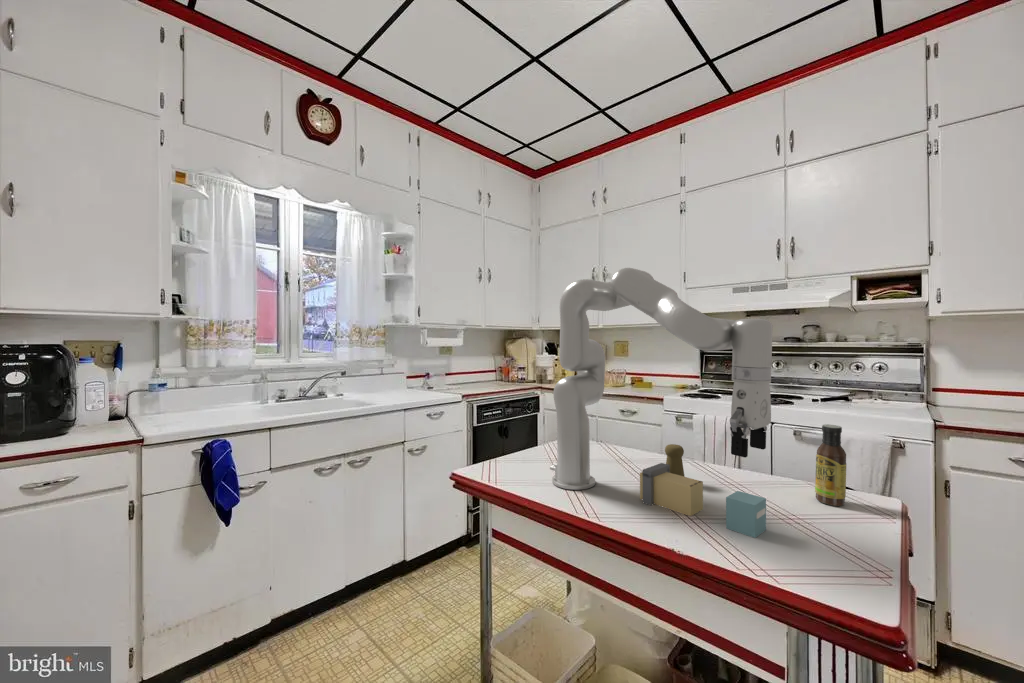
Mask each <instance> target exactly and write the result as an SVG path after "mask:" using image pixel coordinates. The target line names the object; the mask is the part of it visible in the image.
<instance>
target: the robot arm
mask: <svg viewBox="0 0 1024 683" xmlns="http://www.w3.org/2000/svg"><path fill="white" fill-rule="evenodd" d="M628 306H633V307H634V308H636V309H637V310H639V311H641V312H642V313H644V314H645V315H647V316H648V317H650V318H652V319H653V320H655V321H656V323H658V325H660V326H661V327H663V329H665V330H666V331H668V333H670V334H671V335H672V336H675V337H677V338H678V339H680V341H681V340H682V341H683V342H685V343H686V344H688V345H689V346H691V347H693V348H695V349H697V350H699V351H702V352H703V351H704V352H711V351H713V352H714V351H724V350H725V351H726V350H732V360H731V361H732V362H731V381H733V388H732V396H731V397H732V398H731V408H730V409H731V410H730V418H729V425H730V427H729V429H730V437H731V440H730V443H731V444H730V454H731V455H732V456H737V457H740V458H747V457H748V454H749V453H748V452H749V447H750V448H755V449H758V450H759V449H760V450H762V451H763V450H765V449H767V431H768V426H769V425H770V424H771V422H772V403H771V402H772V401H771V399H772V397H771V396H772V395H771V388H770V384H771V382H772V363H773V362H772V361H773V360H772V354H773V327H774V326H773V323H772V322H771V321H770V320H769V319H764V318H739V319H737V320H735V319H727V318H719V317H718V318H717V317H711V316H709V315H707V314H705V313H703V312H701V311H699V310H698V309H696V308H694V307H692V306H690V305H689V304H688V303H686V302H684V300H682V299H681V298H680V297H679V296H678V293H677V292H676V291H675V289H672V288H671V287H669V286H667V285H665V284H663V283H662V282H659V281H658V280H656V279H655V278H654V277H653V276H652V274H651V273H649V272H647V271H644V270H641V269H638V268H634V267H633V268H632V267H624V268H621V269H619V270H617V271H616V272H614V274H613V276H612V278H611V280H610V281H607V282H606V281H600V280H596V279H595V280H594V279H589V278H587V279H579V280H575V281H574V282H572V283H570V284H569V285H568V286H566V288H565V289H564V290H563V292H562V294H561V297H560V301H559V323H560V324H559V325H560V327H559V351H558V353H559V363H560V366H561V368H563V369H564V370H565V371H567V372H576V373H577V374H576V375H570V376H569V375H568V376H565V377H562V378H561V379H559V380H558V381H557V383H556V384H555V386H554V388H553V393H552V394H553V395H552V396H553V401H554V405H555V414H556V441H557V442H556V444H557V446H556V450H557V451H556V452H557V454H556V456H557V461H553V462H552V464H551V465H550V466H549V470H551V471H554V475H553V476H552V479H551V481H552V483H553V485H555V486H556V487H558V488H560V489H563V490H564V489H565V490H576V491H578V490H580V491H581V490H587V489H591V488H593V487H594V486H595V484H596V478H595V477H594V476H593V475H591V469H590V468H591V465H590V463H591V461H590V460H591V457H590V456H591V454H590V452H591V451H590V446H591V445H590V438H591V437H590V420H589V415H588V412H587V410H586V407H587V406H591V405H594V404H597V403H598V402H599V401H600V400H601V399H602V398H603V395H604V392H605V378H606V376H605V374H606V373H605V372H606V371H605V370H606V355H605V351H604V348H603V347H602V345H601V343H600V342H598V341H597V340H594V339H592V338H590V322H589V318H588V316H587V315H588V314H587V311H599V312H607V311H608V312H609V311H613V310H616V309H620V308H624V307H628ZM750 428H751V429H750ZM742 429H743V430H742ZM748 433H749V438H748V437H747V436H748Z"/></svg>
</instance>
